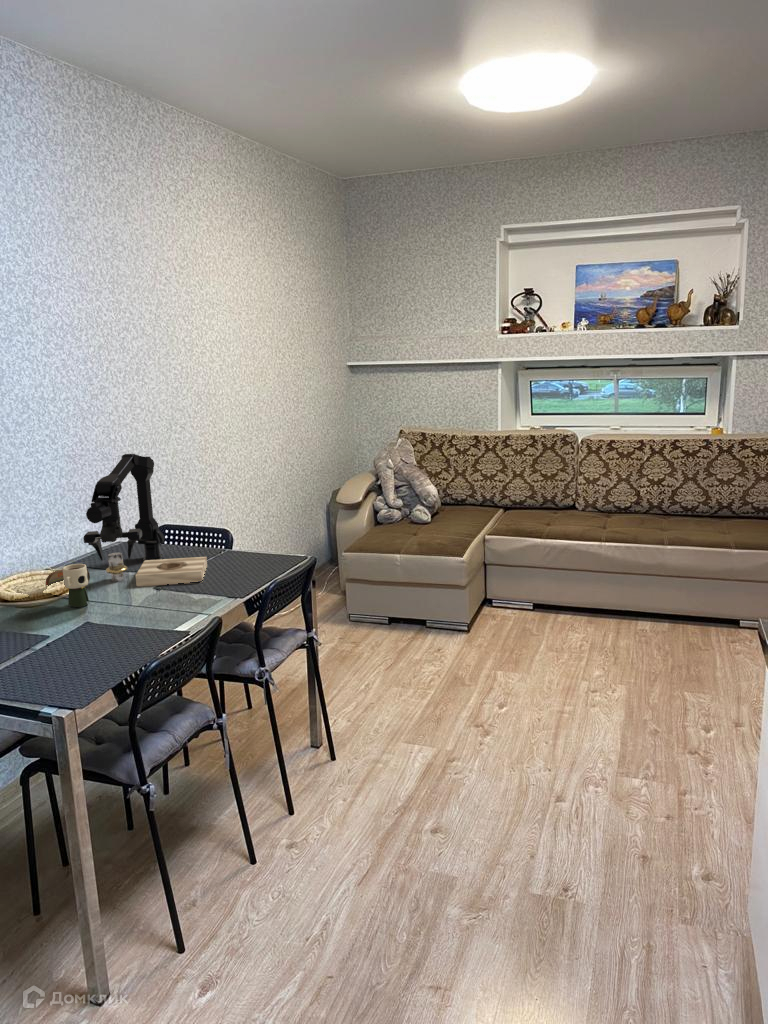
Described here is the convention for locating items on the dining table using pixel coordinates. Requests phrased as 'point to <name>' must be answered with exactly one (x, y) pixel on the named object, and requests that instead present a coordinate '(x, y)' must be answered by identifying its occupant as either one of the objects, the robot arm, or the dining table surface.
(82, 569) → the character mug
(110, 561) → the silver and gold knob
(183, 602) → the dining table surface
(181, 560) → the jig
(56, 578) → the tin
